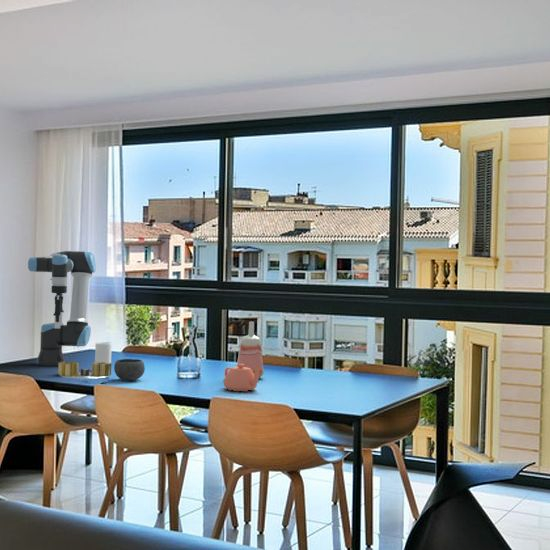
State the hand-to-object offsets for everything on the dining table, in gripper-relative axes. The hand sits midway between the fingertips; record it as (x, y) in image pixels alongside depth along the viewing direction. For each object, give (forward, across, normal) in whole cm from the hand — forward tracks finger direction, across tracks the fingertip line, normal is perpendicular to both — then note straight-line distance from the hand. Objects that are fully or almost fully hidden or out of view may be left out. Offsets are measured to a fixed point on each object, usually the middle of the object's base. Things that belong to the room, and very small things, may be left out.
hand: (58, 326), depth 400 cm
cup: (+25, -6, +23) cm, 34 cm away
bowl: (+24, +18, +36) cm, 47 cm away
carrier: (+24, +11, +14) cm, 30 cm away
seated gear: (+23, +11, +22) cm, 34 cm away
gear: (+23, +11, +6) cm, 26 cm away
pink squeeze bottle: (+25, +9, +98) cm, 102 cm away
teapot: (+24, +48, +88) cm, 103 cm away
